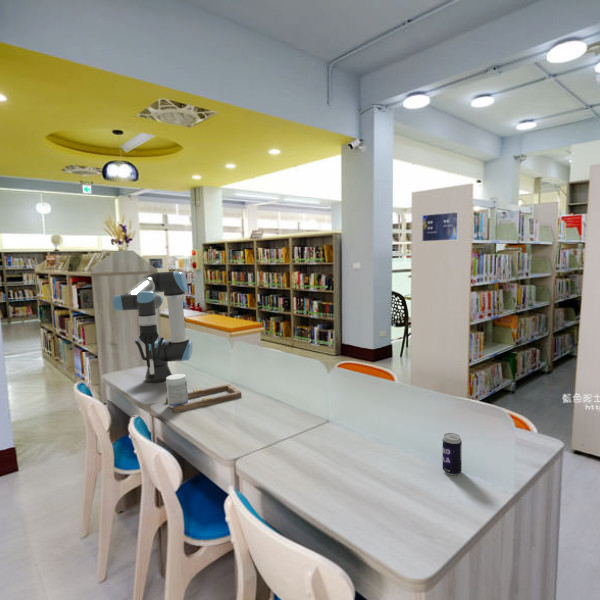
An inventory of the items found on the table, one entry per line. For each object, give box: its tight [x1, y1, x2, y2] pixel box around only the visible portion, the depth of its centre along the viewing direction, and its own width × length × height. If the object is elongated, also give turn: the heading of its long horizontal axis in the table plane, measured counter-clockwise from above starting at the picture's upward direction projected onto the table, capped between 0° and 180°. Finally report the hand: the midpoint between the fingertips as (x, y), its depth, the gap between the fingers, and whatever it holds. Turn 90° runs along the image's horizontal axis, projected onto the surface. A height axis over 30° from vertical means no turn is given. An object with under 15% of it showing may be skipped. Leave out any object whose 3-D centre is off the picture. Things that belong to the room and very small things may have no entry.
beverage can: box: [442, 432, 463, 476], centre depth 127 cm, size 6×6×12 cm
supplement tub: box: [165, 373, 189, 409], centre depth 194 cm, size 10×10×15 cm
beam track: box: [165, 383, 243, 413], centre depth 202 cm, size 17×34×3 cm, turn 122°
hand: (152, 373), depth 187 cm, fingers closed
